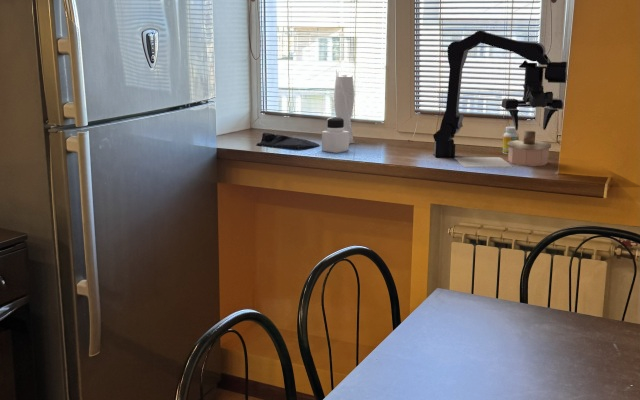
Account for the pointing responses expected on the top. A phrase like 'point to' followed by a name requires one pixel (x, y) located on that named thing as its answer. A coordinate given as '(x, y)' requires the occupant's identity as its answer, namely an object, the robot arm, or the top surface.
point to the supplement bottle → (509, 138)
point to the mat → (482, 162)
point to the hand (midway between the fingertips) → (530, 129)
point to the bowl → (528, 157)
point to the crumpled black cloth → (285, 142)
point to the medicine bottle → (335, 136)
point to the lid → (529, 142)
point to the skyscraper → (344, 100)
